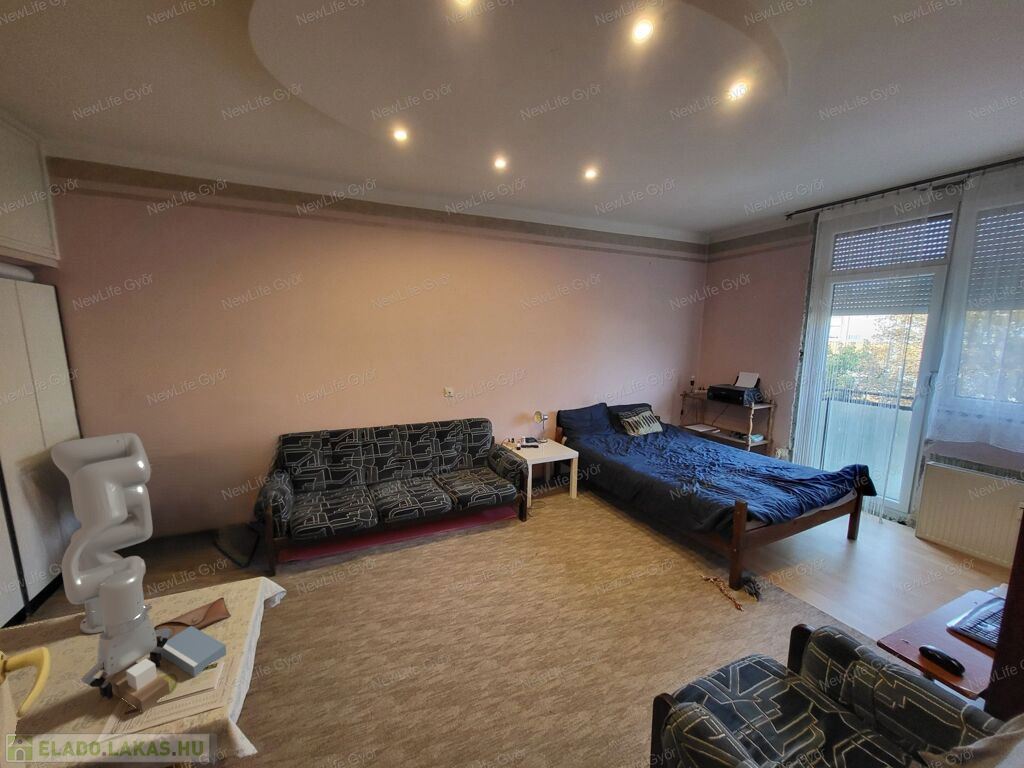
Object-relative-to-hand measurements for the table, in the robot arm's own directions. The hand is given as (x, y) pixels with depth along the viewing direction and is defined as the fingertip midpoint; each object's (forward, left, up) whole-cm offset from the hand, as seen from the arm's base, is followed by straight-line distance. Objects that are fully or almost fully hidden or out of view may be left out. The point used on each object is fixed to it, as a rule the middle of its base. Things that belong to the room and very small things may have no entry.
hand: (133, 680), depth 102 cm
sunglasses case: (-9, +19, -2) cm, 20 cm away
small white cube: (+5, 0, +2) cm, 5 cm away
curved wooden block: (+3, 0, -2) cm, 3 cm away
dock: (+3, +12, -2) cm, 12 cm away
